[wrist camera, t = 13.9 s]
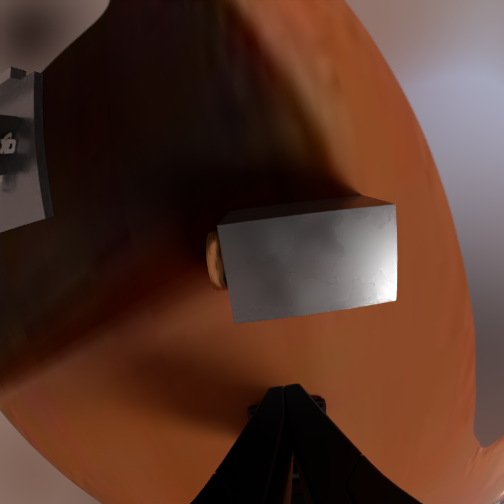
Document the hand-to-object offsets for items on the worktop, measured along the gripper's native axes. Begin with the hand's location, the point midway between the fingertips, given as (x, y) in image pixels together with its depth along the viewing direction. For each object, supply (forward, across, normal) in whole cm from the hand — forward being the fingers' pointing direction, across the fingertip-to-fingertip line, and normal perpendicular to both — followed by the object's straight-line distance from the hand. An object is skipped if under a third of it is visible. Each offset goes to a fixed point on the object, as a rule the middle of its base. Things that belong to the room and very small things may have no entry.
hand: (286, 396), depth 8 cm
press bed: (+12, +19, -13) cm, 26 cm away
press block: (+12, -2, -1) cm, 13 cm away
